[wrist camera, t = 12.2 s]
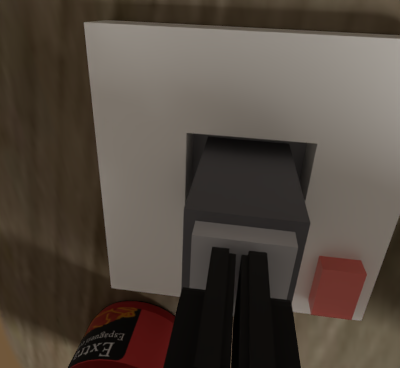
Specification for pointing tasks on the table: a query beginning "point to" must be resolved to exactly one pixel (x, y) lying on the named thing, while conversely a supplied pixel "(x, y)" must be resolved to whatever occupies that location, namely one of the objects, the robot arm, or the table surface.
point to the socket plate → (248, 130)
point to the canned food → (126, 337)
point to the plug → (245, 212)
